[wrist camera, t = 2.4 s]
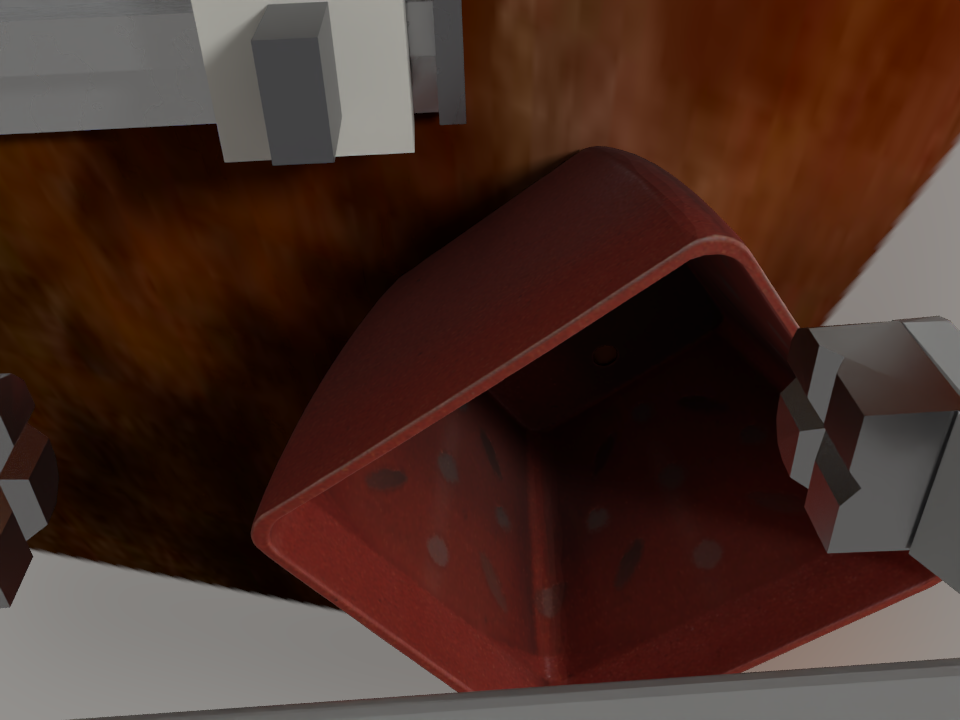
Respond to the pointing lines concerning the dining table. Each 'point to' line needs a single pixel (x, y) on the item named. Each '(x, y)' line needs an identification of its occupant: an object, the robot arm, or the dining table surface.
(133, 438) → the dining table surface
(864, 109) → the dining table surface
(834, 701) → the robot arm
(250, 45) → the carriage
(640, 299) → the plant pot
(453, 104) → the rail
